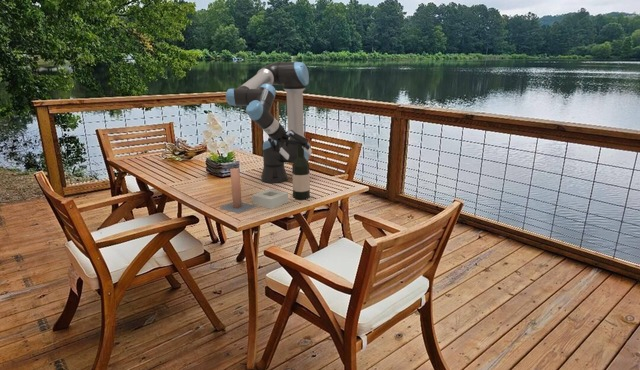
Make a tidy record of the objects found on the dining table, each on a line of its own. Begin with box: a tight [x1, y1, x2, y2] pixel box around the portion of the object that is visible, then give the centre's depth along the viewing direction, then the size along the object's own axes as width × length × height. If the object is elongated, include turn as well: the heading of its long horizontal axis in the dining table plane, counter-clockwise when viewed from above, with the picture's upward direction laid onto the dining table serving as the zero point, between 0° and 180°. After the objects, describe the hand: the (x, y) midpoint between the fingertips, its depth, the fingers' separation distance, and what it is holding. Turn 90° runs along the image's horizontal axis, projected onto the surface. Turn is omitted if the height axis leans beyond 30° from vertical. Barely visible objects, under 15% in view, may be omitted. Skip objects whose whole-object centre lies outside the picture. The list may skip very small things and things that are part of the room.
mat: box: [219, 201, 258, 215], centre depth 195 cm, size 14×12×1 cm
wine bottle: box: [291, 144, 311, 201], centre depth 205 cm, size 8×8×30 cm
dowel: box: [229, 167, 242, 208], centre depth 193 cm, size 4×4×18 cm
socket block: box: [251, 188, 289, 210], centre depth 200 cm, size 12×12×5 cm
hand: (299, 155), depth 203 cm, fingers open, 13 cm apart
